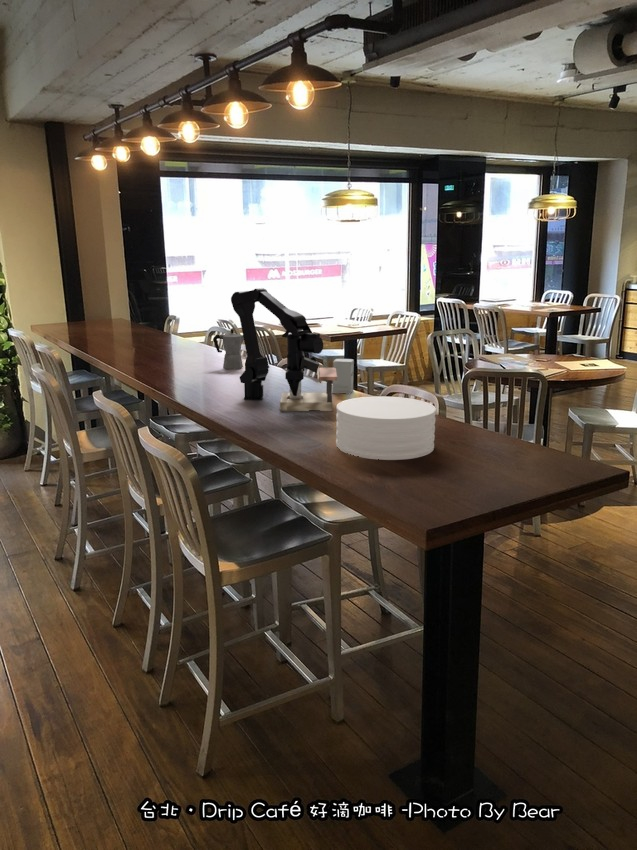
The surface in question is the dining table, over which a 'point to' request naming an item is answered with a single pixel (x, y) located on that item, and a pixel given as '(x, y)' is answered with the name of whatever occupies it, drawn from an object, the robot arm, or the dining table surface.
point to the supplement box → (343, 376)
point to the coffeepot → (231, 349)
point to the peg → (297, 393)
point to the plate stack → (385, 427)
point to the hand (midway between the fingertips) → (295, 394)
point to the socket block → (312, 396)
